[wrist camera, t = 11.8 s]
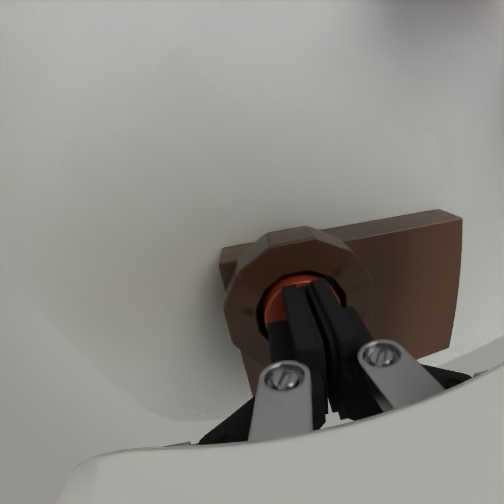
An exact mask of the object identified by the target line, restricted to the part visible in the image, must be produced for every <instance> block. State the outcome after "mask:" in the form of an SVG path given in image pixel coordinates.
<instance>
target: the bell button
mask: <svg viewBox="0 0 504 504" xmlns="http://www.w3.org/2000/svg"><path fill="white" fill-rule="evenodd" d="M323 278H325V279H326V281H327V282H328V284H329V286H330V287H331V289H332V291H333V292H334V294H335V296H336V298H337V299H338V301H339V303H340V300H339V298H338V296H337V294H336V292H335V291H334V289H333V287H332V286H331V284H330V282H329V281H328V279H327V278H326V276H325V275H323V274H320V273H317V272H314V271H311V270H306V271H301V272H296V273H290V274H285V275H283V276H282V277H281V278H279V279H278V280H277V281H276V282H274V283H273V284H272V285H270V286H269V287H268V288H267V289H265V290H264V293H263V295H262V303H263V312H264V321H265V325H266V328H267V323H271V322H276V321H282V320H286V314H285V308H284V301H283V295H282V289H281V287H282V286H287V285H292V284H296V287H302V288H303V291H304V293H305V296H306V299H307V294H306V286H307V285H311V284H310V282H311V281H313V280H318V279H323ZM340 304H341V303H340ZM267 330H268V329H267Z"/></svg>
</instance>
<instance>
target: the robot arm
mask: <svg viewBox="0 0 504 504" xmlns="http://www.w3.org/2000/svg"><path fill="white" fill-rule="evenodd" d="M310 284H311V285H307V286H306V294H307V299H306V296H305V293H304V291H303V288H302V287H296V284H292V285H287V286H282V287H281V289H282V295H283V301H284V308H285V314H286V320H282V321H276V322H271V323H267V329H268V337H269V346H270V355H271V363H272V364H271V365H269V366H268V367H266V368H265V369H264V370H263V371H262V372H261V374H260V377H259V380H258V386H257V392H256V395H255V396H254V397H253V398H251V399H250V400H249V401H248V402H247V403H245V404H244V405H243V406H242V407H241V408H239V409H238V410H237V411H236V412H234V413H233V414H232V415H231V416H229V417H228V418H227V419H226V420H224V421H223V422H222V423H221V424H219V425H218V426H217V427H215V428H214V429H213V430H211V431H210V432H209V433H208V434H206V435H205V436H204V437H203V438H202V439H201V440H200V441H199V443H197V444H192V445H191V443H190V442H185V443H180V444H175V445H169V446H164V447H146V448H133V449H126V450H118V451H113V452H109V453H105V454H101V455H97V456H94V457H92V458H89V459H87V460H85V461H83V462H81V463H80V464H78V465H77V466H76V467H75V468H74V469H73V470H72V472H71V473H70V474H69V475H68V477H67V478H66V480H65V481H64V483H63V485H62V487H61V488H60V490H59V492H58V494H57V496H56V498H55V501H54V503H53V504H504V362H503V363H501V364H500V365H498V366H496V367H494V368H492V369H490V370H487V371H483V372H479V373H475V374H474V376H473V378H472V377H471V376H469V375H467V374H464V373H459V372H454V371H450V370H444V369H440V368H436V367H431V366H427V365H423V364H420V363H419V362H418V361H417V360H416V359H415V358H414V357H413V356H412V355H411V354H410V353H409V352H408V351H407V350H406V349H405V348H404V347H403V346H401V345H400V344H399V343H397V342H395V341H392V340H386V339H380V340H374V339H373V337H372V335H371V334H370V332H369V331H368V329H367V327H366V326H365V324H364V323H363V321H362V319H361V318H360V316H359V315H358V313H357V312H356V310H355V309H354V307H353V306H350V307H346V308H342V306H341V304H340V303H339V301H338V299H337V298H336V296H335V294H334V292H333V291H332V289H331V287H330V286H329V284H328V282H327V281H326V279H325V278H323V279H318V280H313V281H311V282H310ZM328 399H329V403H330V406H331V409H332V412H338V413H339V416H340V419H341V420H343V419H346V418H349V419H351V420H354V421H353V422H349V423H345V424H341V425H337V426H332V427H328V428H323V429H320V428H321V427H322V426H323V424H324V423H325V422H326V419H325V414H328Z"/></svg>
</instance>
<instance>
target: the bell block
mask: <svg viewBox="0 0 504 504" xmlns="http://www.w3.org/2000/svg"><path fill="white" fill-rule="evenodd" d="M461 251H462V218H461V217H458V216H456V215H453V214H451V213H448V212H445V211H443V210H440V209H438V210H432V211H426V212H420V213H415V214H409V215H403V216H397V217H391V218H386V219H380V220H374V221H369V222H363V223H357V224H352V225H346V226H341V227H335V228H329V229H324V230H316V229H313V228H310V227H308V226H302V227H296V228H291V229H285V230H280V231H274V232H269V233H268V234H265V235H264V236H263V237H261V238H260V239H259V240H258V241H257V242H253V243H248V244H242V245H237V246H232V247H226V248H222V252H221V257H220V261H219V268H220V272H221V276H222V281H223V285H224V289H225V293H226V294H225V302H224V314H225V318H226V321H227V325H228V329H229V333H230V336H231V340H232V342H233V344H234V345H235V346H236V347H237V348H239V349H240V351H241V355H242V359H243V362H244V366H245V370H246V373H247V377H248V380H249V384H250V388H251V391H252V395H253V397H254V396H255V395H256V392H257V386H258V380H259V377H260V374H261V372H262V371H263V370H264V369H265V368H266V367H268V366H269V365H271V364H272V363H271V355H270V346H269V337H268V330H267V328H266V325H265V321H264V312H263V303H262V295H263V293H264V290H265V289H267V288H268V287H269V286H270V285H272V284H273V283H274V282H276V281H277V280H278V279H279V278H281V277H282V276H283V275H285V274H290V273H296V272H301V271H306V270H311V271H314V272H317V273H320V274H323V275H325V276H326V278H327V279H328V281H329V282H330V284H331V286H332V287H333V289H334V291H335V292H336V294H337V296H338V298H339V300H340V303H341V306H342V308H346V307H350V306H353V307H354V309H355V310H356V312H357V313H358V315H359V316H360V318H361V319H362V321H363V323H364V324H365V326H366V327H367V329H368V331H369V332H370V334H371V335H372V337H373V339H374V340H380V339H386V340H392V341H395V342H397V343H399V344H400V345H401V346H403V347H404V348H405V349H406V350H407V351H408V352H409V353H410V354H411V355H412V356H413V357H414V358H415V359H419V358H422V357H425V356H428V355H430V354H433V353H436V352H438V351H441V350H444V349H446V348H448V347H449V344H450V339H451V334H452V328H453V322H454V316H455V310H456V303H457V295H458V287H459V277H460V266H461Z"/></svg>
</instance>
